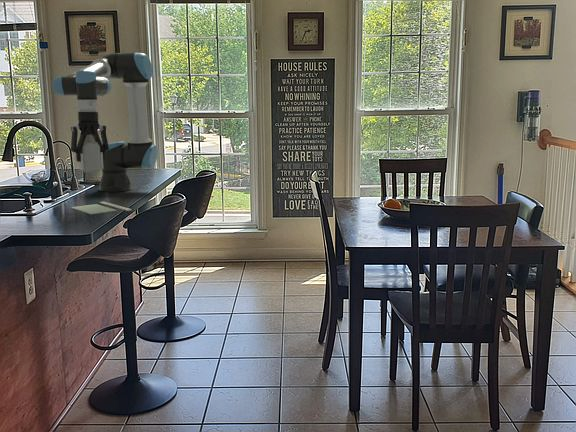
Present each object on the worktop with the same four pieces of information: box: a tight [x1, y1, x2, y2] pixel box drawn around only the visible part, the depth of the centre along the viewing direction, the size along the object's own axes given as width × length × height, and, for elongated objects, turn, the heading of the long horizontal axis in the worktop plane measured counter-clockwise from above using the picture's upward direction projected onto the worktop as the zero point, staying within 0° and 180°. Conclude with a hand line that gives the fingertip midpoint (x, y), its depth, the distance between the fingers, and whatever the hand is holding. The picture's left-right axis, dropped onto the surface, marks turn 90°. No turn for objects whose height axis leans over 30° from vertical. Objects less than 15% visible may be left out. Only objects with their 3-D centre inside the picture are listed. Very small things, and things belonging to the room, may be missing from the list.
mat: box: [70, 203, 118, 215], centre depth 243 cm, size 11×18×1 cm, turn 43°
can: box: [81, 140, 102, 174], centre depth 239 cm, size 8×8×12 cm
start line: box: [99, 201, 133, 212], centre depth 249 cm, size 2×24×1 cm, turn 43°
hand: (91, 168), depth 240 cm, fingers closed on can, 7 cm apart
